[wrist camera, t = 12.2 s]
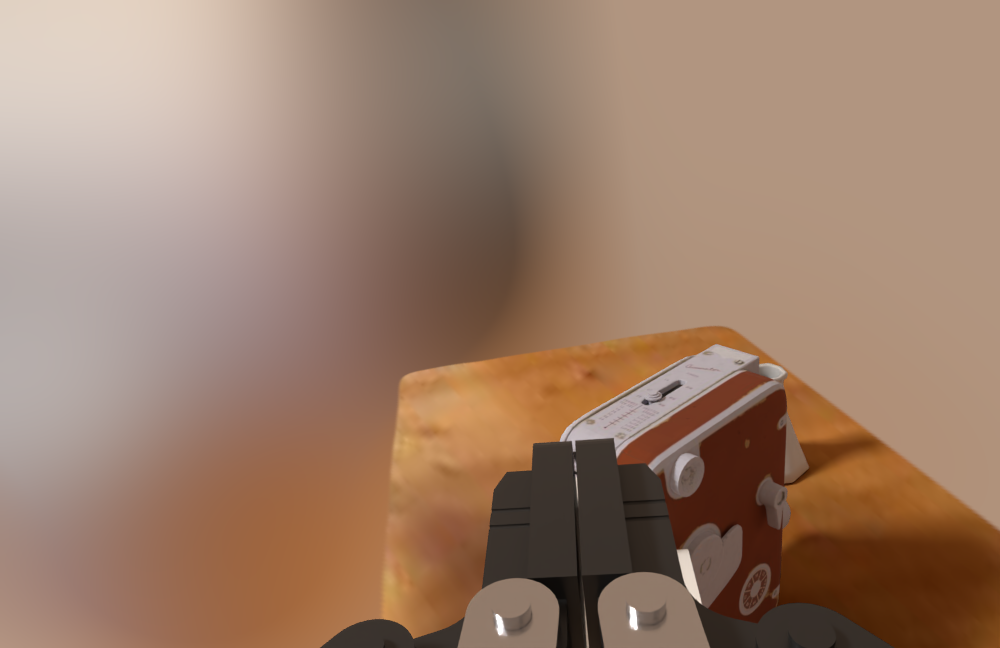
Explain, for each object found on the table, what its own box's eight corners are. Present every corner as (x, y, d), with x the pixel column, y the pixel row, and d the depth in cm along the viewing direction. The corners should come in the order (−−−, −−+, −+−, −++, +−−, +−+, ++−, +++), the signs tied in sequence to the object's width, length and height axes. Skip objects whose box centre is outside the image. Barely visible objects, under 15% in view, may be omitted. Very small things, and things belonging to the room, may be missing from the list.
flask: (760, 498, 65) (762, 399, 61) (708, 459, 72) (707, 367, 68) (824, 472, 68) (830, 375, 64) (768, 436, 74) (771, 346, 70)
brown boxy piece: (835, 585, 55) (854, 342, 47) (669, 756, 44) (658, 478, 36) (728, 531, 62) (729, 311, 54) (562, 668, 51) (534, 418, 43)
